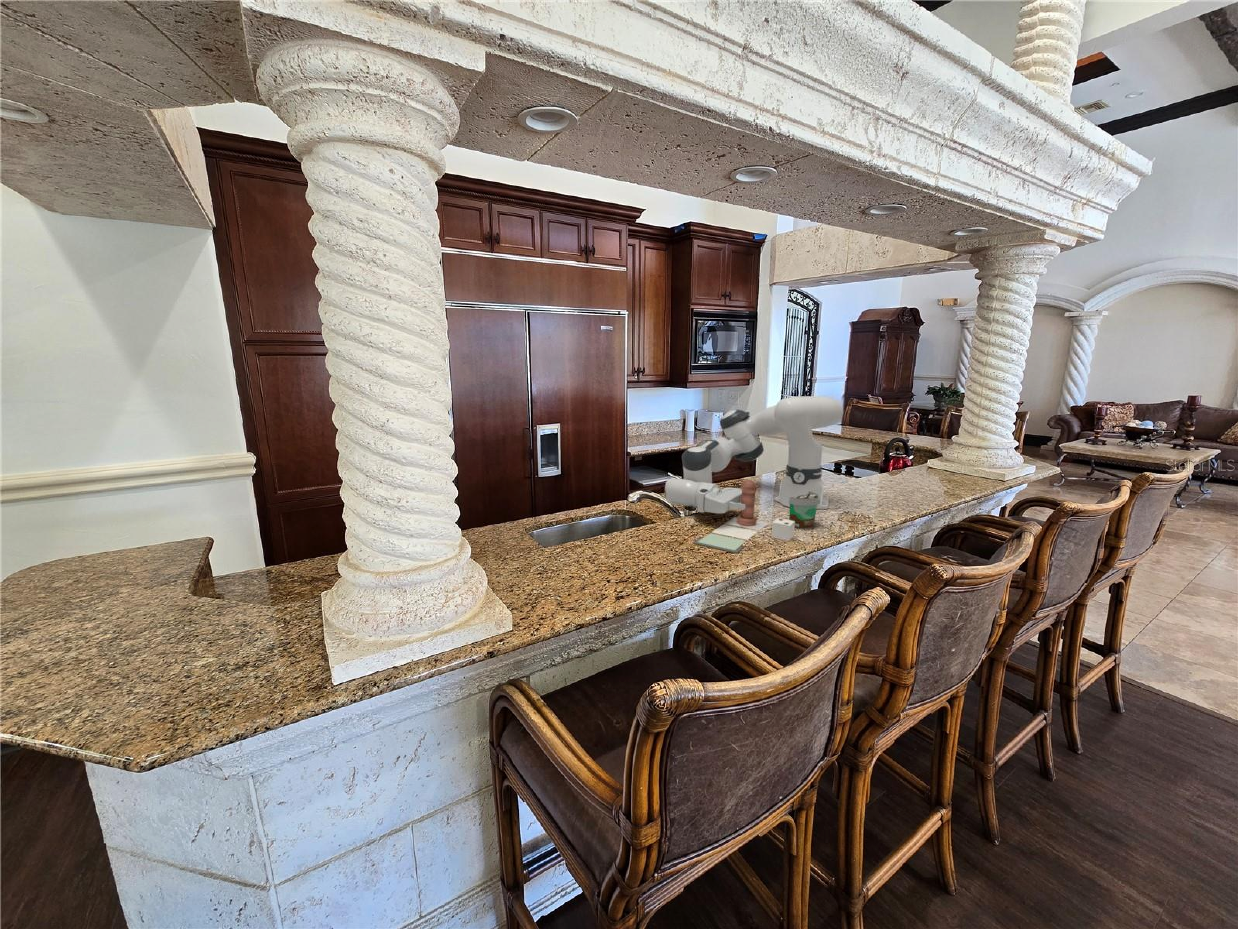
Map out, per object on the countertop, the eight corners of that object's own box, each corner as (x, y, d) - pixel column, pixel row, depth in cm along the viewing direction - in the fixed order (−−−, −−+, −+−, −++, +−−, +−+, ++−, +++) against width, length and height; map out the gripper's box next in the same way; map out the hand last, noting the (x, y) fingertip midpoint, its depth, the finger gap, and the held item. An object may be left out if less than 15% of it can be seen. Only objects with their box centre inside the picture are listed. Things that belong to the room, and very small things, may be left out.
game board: (733, 516, 165) (733, 515, 165) (772, 523, 158) (772, 522, 158) (692, 543, 140) (692, 542, 140) (736, 553, 133) (736, 552, 133)
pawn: (740, 519, 161) (743, 477, 158) (759, 522, 158) (762, 479, 155) (733, 523, 156) (736, 480, 154) (752, 527, 153) (755, 483, 150)
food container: (805, 533, 150) (807, 501, 148) (786, 528, 154) (789, 497, 152) (824, 525, 158) (828, 494, 156) (806, 520, 162) (809, 490, 160)
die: (776, 534, 149) (777, 517, 148) (793, 537, 146) (794, 520, 145) (771, 538, 145) (772, 522, 144) (788, 542, 142) (790, 525, 141)
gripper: (721, 499, 172) (760, 505, 164) (695, 513, 155) (738, 521, 148) (722, 481, 171) (761, 487, 163) (696, 493, 154) (739, 500, 147)
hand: (750, 503), depth 155 cm, fingers open, 8 cm apart
